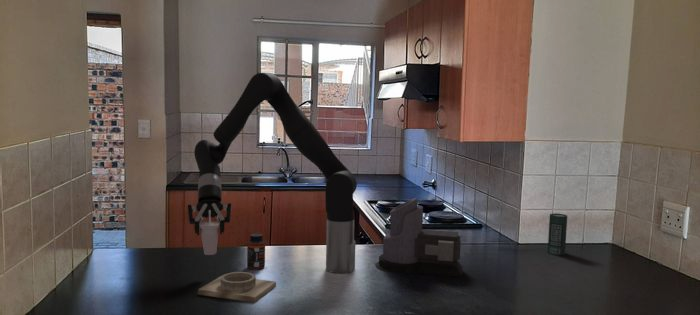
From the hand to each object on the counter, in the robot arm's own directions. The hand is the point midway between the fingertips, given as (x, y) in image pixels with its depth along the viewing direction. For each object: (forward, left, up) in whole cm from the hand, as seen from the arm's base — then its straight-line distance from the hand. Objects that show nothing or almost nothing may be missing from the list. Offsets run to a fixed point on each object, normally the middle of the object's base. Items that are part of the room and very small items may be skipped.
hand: (209, 233), depth 167 cm
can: (-109, -72, -14) cm, 132 cm away
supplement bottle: (-9, -14, -14) cm, 22 cm away
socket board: (-14, +8, -14) cm, 21 cm away
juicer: (-61, -34, -15) cm, 71 cm away
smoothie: (+1, -2, -7) cm, 7 cm away
